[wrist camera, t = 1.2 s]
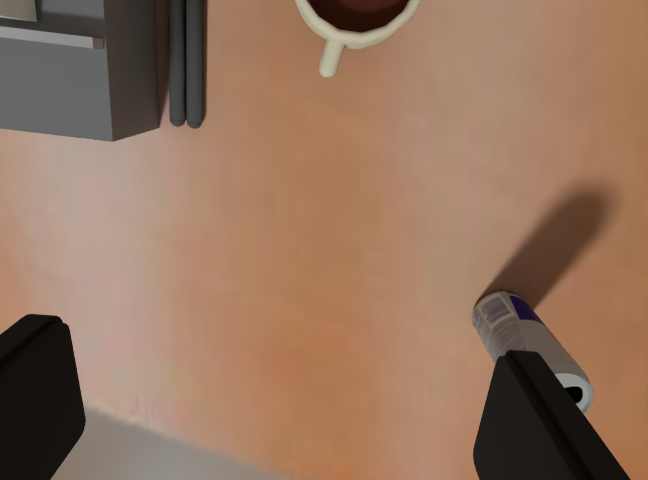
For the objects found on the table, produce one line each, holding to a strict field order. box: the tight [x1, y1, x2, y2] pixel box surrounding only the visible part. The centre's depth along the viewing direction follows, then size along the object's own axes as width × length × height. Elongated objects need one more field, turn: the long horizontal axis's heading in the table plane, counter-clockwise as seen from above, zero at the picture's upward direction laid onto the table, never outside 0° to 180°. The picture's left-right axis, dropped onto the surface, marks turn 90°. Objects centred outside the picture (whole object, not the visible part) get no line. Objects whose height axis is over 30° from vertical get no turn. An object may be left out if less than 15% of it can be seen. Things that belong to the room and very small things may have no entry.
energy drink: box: [472, 291, 594, 414], centre depth 36 cm, size 5×5×12 cm
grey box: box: [0, 0, 159, 142], centre depth 29 cm, size 16×10×9 cm, turn 173°
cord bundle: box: [168, 0, 203, 129], centre depth 33 cm, size 15×3×1 cm, turn 173°
